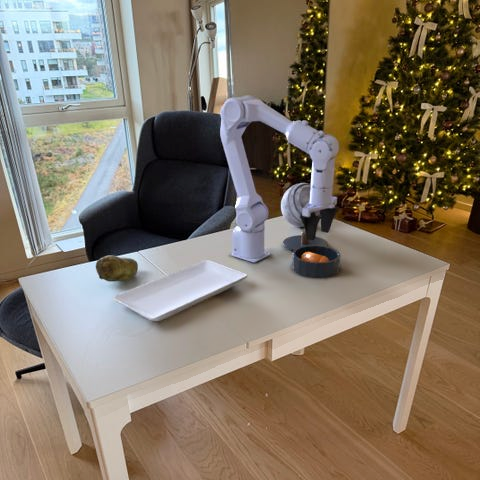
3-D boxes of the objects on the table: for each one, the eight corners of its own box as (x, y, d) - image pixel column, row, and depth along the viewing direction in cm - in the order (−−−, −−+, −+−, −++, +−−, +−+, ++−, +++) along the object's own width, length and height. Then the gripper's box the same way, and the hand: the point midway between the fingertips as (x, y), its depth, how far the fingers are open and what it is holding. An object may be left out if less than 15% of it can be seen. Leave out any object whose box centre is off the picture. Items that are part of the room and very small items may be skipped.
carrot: (299, 266, 129) (297, 255, 127) (306, 258, 131) (304, 247, 128) (329, 275, 124) (327, 264, 121) (336, 267, 126) (335, 255, 123)
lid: (277, 251, 140) (278, 237, 137) (288, 236, 151) (289, 223, 149) (322, 256, 136) (323, 242, 133) (330, 240, 147) (331, 227, 145)
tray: (112, 308, 110) (110, 295, 108) (207, 269, 129) (206, 258, 127) (154, 333, 99) (152, 319, 98) (249, 286, 119) (249, 274, 117)
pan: (287, 274, 125) (287, 259, 123) (298, 257, 135) (299, 243, 133) (334, 280, 121) (336, 265, 119) (341, 262, 132) (343, 248, 129)
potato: (148, 278, 124) (145, 251, 120) (106, 292, 117) (101, 264, 113) (133, 269, 129) (129, 243, 125) (92, 282, 122) (86, 255, 118)
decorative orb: (297, 235, 152) (299, 191, 144) (272, 224, 162) (273, 182, 155) (329, 227, 159) (333, 184, 151) (303, 216, 169) (305, 176, 162)
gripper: (320, 194, 109) (316, 246, 116) (348, 182, 119) (343, 231, 126) (296, 189, 113) (294, 240, 120) (325, 178, 123) (321, 226, 130)
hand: (317, 235), depth 123 cm, fingers open, 7 cm apart
